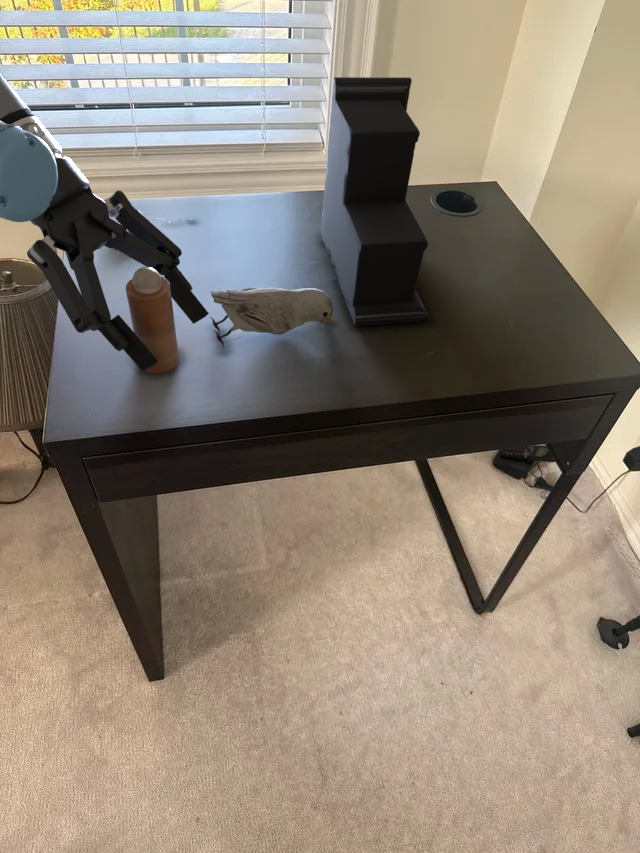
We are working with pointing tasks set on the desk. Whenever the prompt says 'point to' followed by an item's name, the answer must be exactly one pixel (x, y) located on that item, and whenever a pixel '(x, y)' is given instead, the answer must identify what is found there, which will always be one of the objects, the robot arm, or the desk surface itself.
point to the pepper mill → (153, 317)
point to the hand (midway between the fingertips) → (176, 341)
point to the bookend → (373, 201)
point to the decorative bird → (272, 309)
